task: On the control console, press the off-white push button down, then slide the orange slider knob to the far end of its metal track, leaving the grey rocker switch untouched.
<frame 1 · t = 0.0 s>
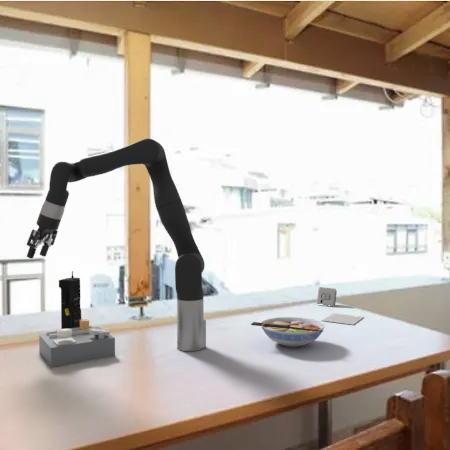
hand: (36, 256, 158), 31 cm above the table, tool tilted 20°, fingers open, 8 cm apart
electrical switch: (326, 305, 225), on the table
push button: (64, 333, 138), point 9 cm above the table, slide at 0.0 cm
console: (76, 354, 145), on the table
rocker switch: (99, 332, 144), point 8 cm above the table, hinge at -12.0°
ramen bowl: (292, 345, 155), on the table
slider knob: (84, 325, 151), point 8 cm above the table, slide at 0.0 cm
portable radio: (70, 339, 164), on the table
paper stack: (351, 323, 187), on the table
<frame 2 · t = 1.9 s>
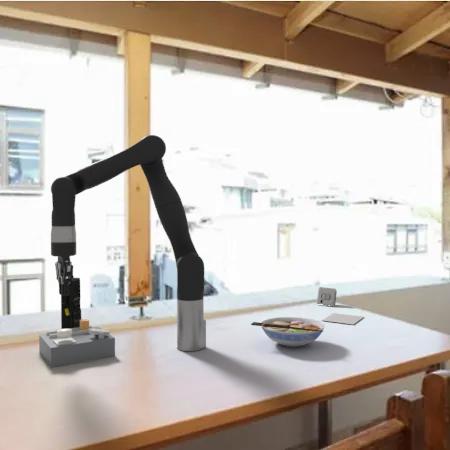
hand: (64, 294, 138), 21 cm above the table, tool pointing down, fingers open, 3 cm apart
nothing on the table moved.
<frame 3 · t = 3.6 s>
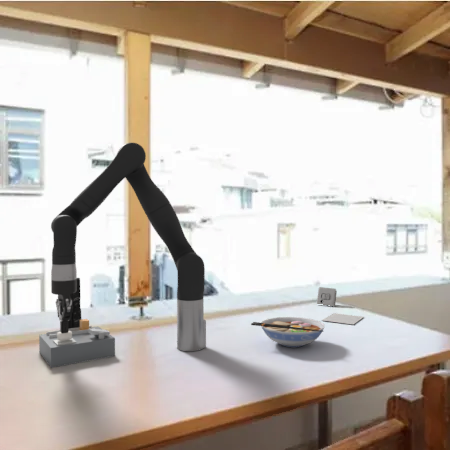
hand: (64, 332, 138), 9 cm above the table, tool pointing down, fingers closed
push button: (64, 335, 138), point 8 cm above the table, slide at 0.7 cm, touching gripper
everything else where it was.
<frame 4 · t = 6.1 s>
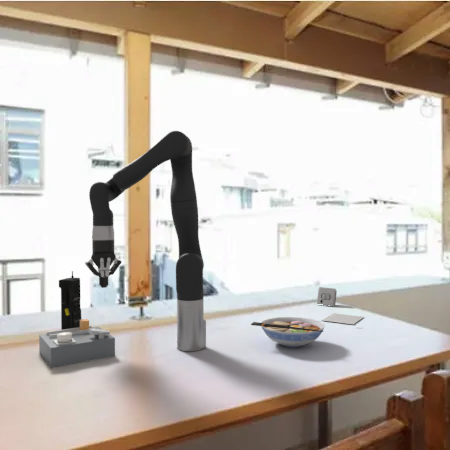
hand: (103, 287, 155), 21 cm above the table, tool pointing down, fingers closed
push button: (64, 337, 138), point 8 cm above the table, slide at 1.2 cm
everything else where it was.
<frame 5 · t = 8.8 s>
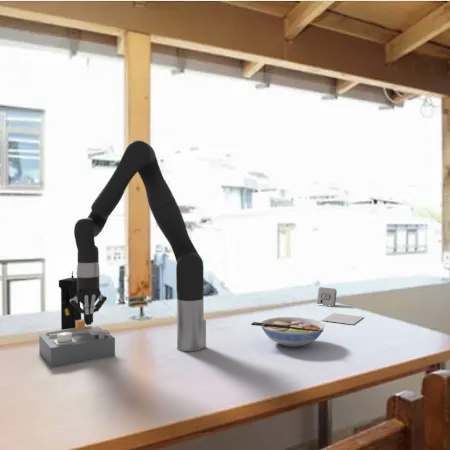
hand: (88, 324, 152), 8 cm above the table, tool pointing down, fingers closed
slider knob: (80, 325, 151), point 8 cm above the table, slide at 1.5 cm, touching gripper
everything else where it was.
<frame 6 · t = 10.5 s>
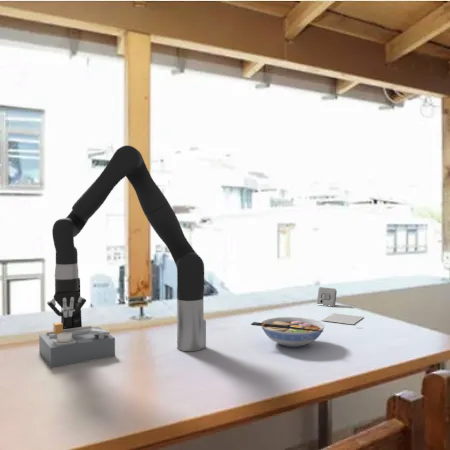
hand: (67, 327, 148), 8 cm above the table, tool pointing down, fingers closed
slider knob: (58, 328, 147), point 8 cm above the table, slide at 8.7 cm, touching gripper
everything else where it was.
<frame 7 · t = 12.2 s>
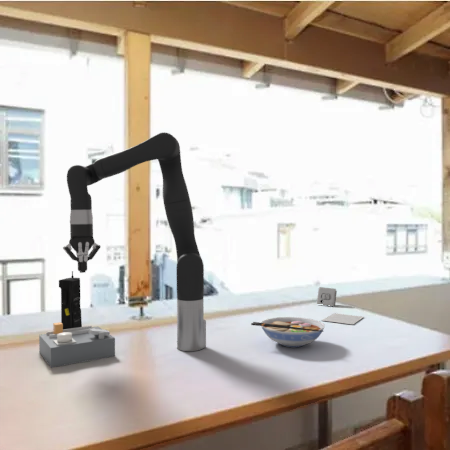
hand: (82, 272, 152), 26 cm above the table, tool pointing down, fingers closed
slider knob: (58, 328, 147), point 8 cm above the table, slide at 8.8 cm
everything else where it was.
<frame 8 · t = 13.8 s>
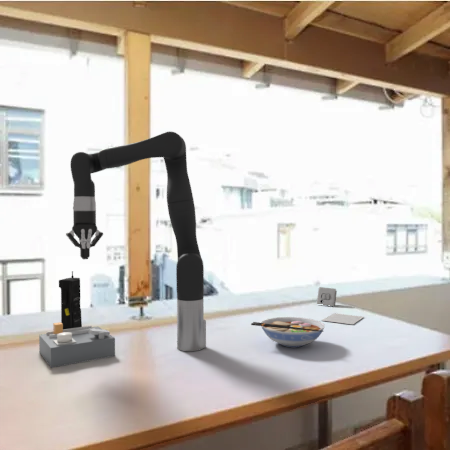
hand: (85, 259, 153), 31 cm above the table, tool pointing down, fingers closed
nothing on the table moved.
at the end: push button slide at 1.2 cm; slider knob slide at 8.8 cm; rocker switch at -12° (first picture: -12°) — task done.
